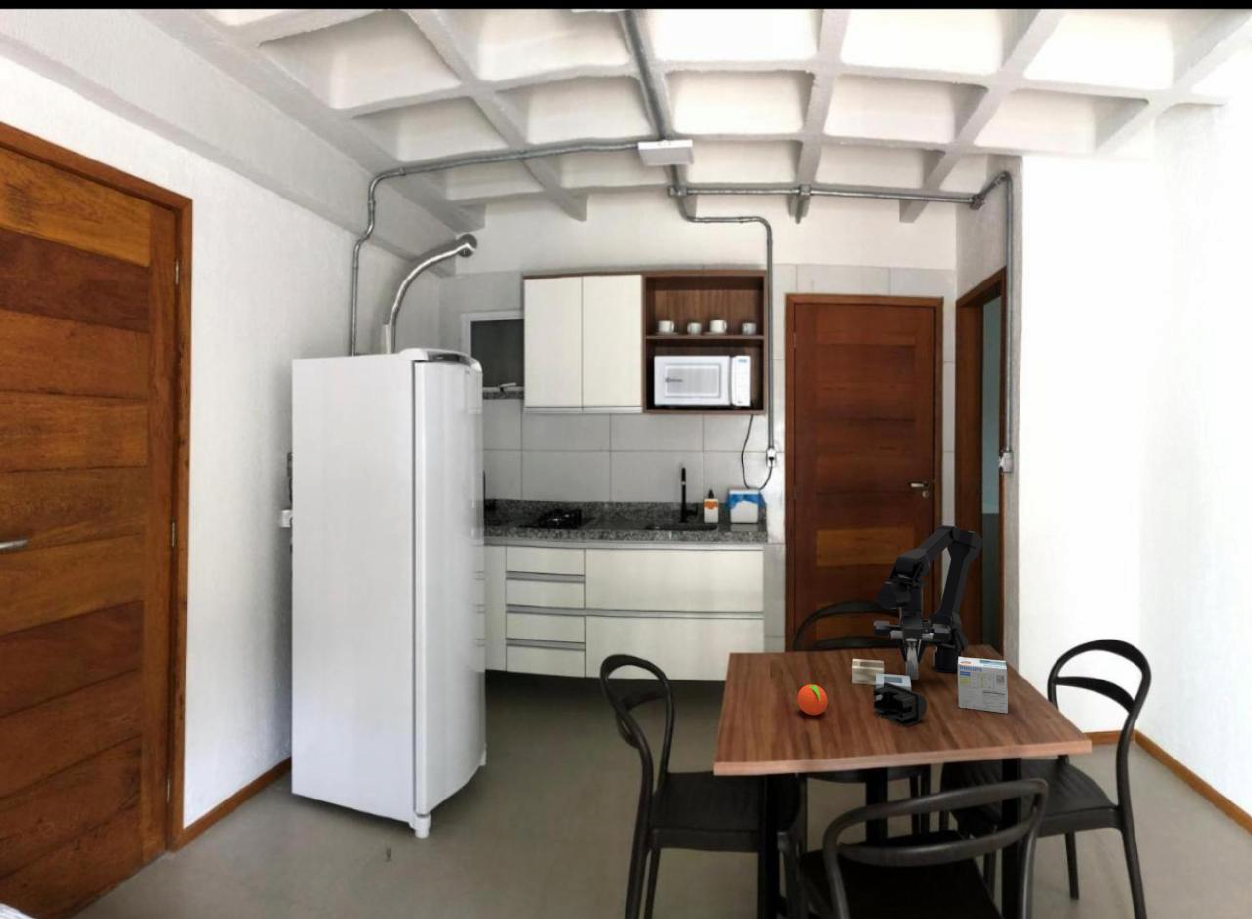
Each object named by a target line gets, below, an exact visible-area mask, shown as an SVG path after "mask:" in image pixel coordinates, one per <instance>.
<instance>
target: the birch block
mask: <svg viewBox="0 0 1252 919" xmlns="http://www.w3.org/2000/svg"><path fill="white" fill-rule="evenodd" d="M851 665H852V666H851V678H852V679H851V683H852V684H860V685H861V684H862V685H872V686H873V685H875V686H876V673H877V674H885V663H884V660H873V659H860V658H859V659H858V658H852V664H851Z"/></svg>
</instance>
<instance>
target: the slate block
mask: <svg viewBox="0 0 1252 919" xmlns="http://www.w3.org/2000/svg"><path fill="white" fill-rule="evenodd" d="M884 682H888V683H891V684H894V685H897V686H899V687H902V688H905V689H908V690H910V691H912V683H911V679H910V676H906V675H902V674H901V675H900V674H889V673H884V674H877V673H876V685H875V686H876V687H875V689H877V688H881V687H884ZM875 698H876V700H880V699H881V698H882V695H878V696H875ZM876 700H875V701H876Z"/></svg>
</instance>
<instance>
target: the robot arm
mask: <svg viewBox="0 0 1252 919" xmlns="http://www.w3.org/2000/svg"><path fill="white" fill-rule="evenodd" d="M982 546H983V538H982V537H981V535H980V534H979V533H978V531H971V530H966V529H962V528H960V527H958V526H956V525H949V524H941V525H939V526H938V527H937V528H936V530H935V531H934V532H933V533H932V534H931V535H930V536H928V538H926V540H924V541H923V542H922V543H921V544H920V545H918V547H916V548H915V549H913V550H912V549H911V550H908V551H906V552H904V553H902V554H900V555H899V556H897V558H896V559H895V562H894V564H893V566H892V568H891V570H890V572H889V575H888V576H887V577H888V578H887V579H886V580H887V581H886V582H883V587H881V588H880V589H879V590H878V592H877V595H876V598H877V602H878V604H879V606H880V607H881V608H882V609H884V610H887V611H888V610H889V611H890V610H893V609H897V608H899V625H893V624H890V621H888V620H875V621H874V622H873V636H875V637H888V636H889V635H890V640H892V641H895V642H896V644H897V646H898V648H899V651H900V654H901V656H902V660H903V662H904V663H905V664H906V647H905V642H904V639H905V640H906V639H916V640H919V641H918V665H919V664H921V661H922V657H923V654H924V652H925V650H926V647H927V646H928V645H930V646H934V647H935V649H934V650H933V666H934V668H935V669H936V671H937V672H939V671H941V673H953V672H955V674H958V658H959V657H963V655H962V652H966V651H967V649H968V648H969V643H970V642H969V640H968V639H967V637H966V635H965V634H964V633H963V632H962V631H963V623H962V620H961V616H960V614H959V612H960V608H961V606H962V605H961V604H962V601H963V595H964V591H965V587H966V582H967V577H968V574H969V569H970V564H972V562H973V561H974V560H975V559H976V558H977V557H978V556H979V554H980V551H981V548H982ZM944 550H947V552H948V555H949V558H950V560H949V566H948V570H947V575H946V579H945V583H944V587H943V588H944V589H943V592H942V596H941V600H940V605H939V608H938V610H936V611H935V612H931V613H930V614H929V616H928V619H924V590H923V589H924V587H925V586H927V585H928V582H927V581H926V580H924V578H925V577H926V576H927V574H928V573H929V572H930V570H931V563H932V562H933V561H934V560H935V559H936V558H938V556H939V555H940V554H941V553H942V552H943V551H944Z"/></svg>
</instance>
